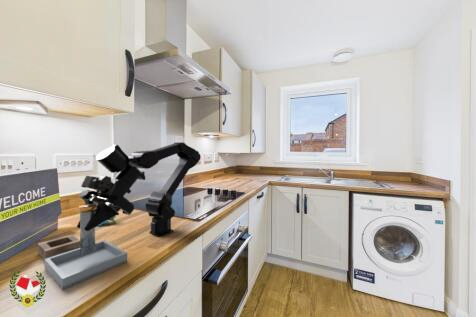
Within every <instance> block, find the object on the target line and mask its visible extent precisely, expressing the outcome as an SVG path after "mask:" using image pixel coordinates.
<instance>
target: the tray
mask: <svg viewBox="0 0 476 317" xmlns="http://www.w3.org/2000/svg"><path fill="white" fill-rule="evenodd" d="M127 262H128V252H127V251H125V250H123V249H121V248H119V247H118V246H116V245H114V244H113V243H110V242H109V241H107V240H106V239H104V240H101V241H97V242H95V251H94V252H92V253H89V254H80V248H78V249H75V250H72V251H69V252H65V253H62V254H59V255H56V256H53V257H50V258H47V259H45V261H44V269H45V271H46V272H47V273H48V275H49V276H50V277H51V279H53V281H54V282H55V283H56V284H57V285H58V287H59V288H60V289H61V290H62V291H65V289H68V288H70V287H72V286H73V287H74V286H75V285H78V284H80V283H82V282H84V281H86V280H89V279H91V278H93V277H95V276H97V275H100V274H102V273H104V272H106V271H109V270H111V269H114V268H116V267H118V266H120V265H123V264H125V263H127Z"/></svg>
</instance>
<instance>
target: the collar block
mask: <svg viewBox="0 0 476 317" xmlns="http://www.w3.org/2000/svg"><path fill="white" fill-rule="evenodd" d="M78 248H80V238H78V237H76V236H75V235H73V234H69V235H65V236H61V237H57V238H54V239H50V240H46V241H43V242H38V243H37V254H38V256H39V257H40V258H41V259H42V260H43V261H44V262H45V259H47V258H50V257H53V256H56V255H59V254H62V253H65V252H69V251H72V250H75V249H78Z"/></svg>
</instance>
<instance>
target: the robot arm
mask: <svg viewBox="0 0 476 317" xmlns="http://www.w3.org/2000/svg"><path fill="white" fill-rule="evenodd" d="M173 155H174V156H175V155H177V157H178V158H179V160H178V165H177V166H176V167H175V169H174V171H173V172H172V173H171V175H170V176H169V178H168V179H167V180H166V182H165V184H164V185H163V186H162V188H161V189H160V190H159V191H155V190H154V191H153V192H151V194H150V196H149V197H148V198H147V199H146V202H145V205H144V206H145V210H146V213H147V214H148V216H149V217H151V222H150V230H149V234H151V235H154V236H156V237H159V238H160V237H162V236H165V235H168V234H170V233H172V232H174V229H172V226H171V225H172V218H174V217H175V214H176V210H175V209H174V208H173V207H172V204H173V195H174V194H175V192H176V190H177V189H178V188H179V186H180V184H181V183H182V182H183V180H184V178H185V177H186V175H187V173H188V172H189V171H190V170H191V169H193V168H194V167H195V166H197V164H198V163H199V162H200V160H201V154H200V152H199V151H198V150H196V149H195V148H193V147H191V146H189V145H188V144H186V143H185V142H179V141H178V142H174V143H172V144H171V143H170V144H168V145H164V146H162V147H159V148H155V149H152V150H141V151H134V152H131V153H130V155H127V154H126V153H125V152H124V151H123V149H122V148H121V147H120V145H119V144H112V145H111V146H110V147H107V148H105V149H104V150H101V151H100V152H99V153H97V155H96V157H95V160H96V161H97V162H98V163H100V164H101V166H103V167H104V168H105V169H107V171H108V172H110V173H111V174H113V173H117V174H116V175H114V177H113V178H112V177H111V176H107V175H101V176H100V177H98V176H91V175H85V178H84V180H83V182H82V183H81V185H80V187H81V188H86V189H84V190H82V191H81V192H80V193H79V194H78V195H77V196H78V198H80V199H81V200H83V201H84V205H86V204H96V209H95V214H94V215H93V217H92V218H91V219H90V221H89V222H88V223H87V225H86V226H85V228H84V230H86V231H89V230H91V229H92V228H94V227H95V228H96V227H99V226H98V225H99V224H101V223H102V224H104V222H105V221H106V220H107V221H109V220H108V219H110V218H112V217H114V216H119V215H120V213H119V212H120V211H121V212H122V214H124V215H127V216H130V215H132V213H133V211H134V210H135V204H134V203H133V202H131V201H130V200H129V199H127V198H126V197H125V195H126V194H128V195H129V194H130V193H131V192H132V190H131V188H132V187H133V186H134V184H135V183H136V182H137V181H138V180H141V181H145V180H146V176H145V175H146V174H145V171H141V170H140V169H143V170H144V169H146V170H147V169H151V168H153V167H154V166H157V164H158V163H159V162H160V161H162V160H164V159H167V158H168V157H171V156H173ZM90 189H92V190H90ZM94 190H95V191H94ZM76 227H77V228H78V229H80V220H79V221H78V224H77V226H76Z"/></svg>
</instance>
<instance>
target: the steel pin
mask: <svg viewBox="0 0 476 317" xmlns="http://www.w3.org/2000/svg"><path fill="white" fill-rule="evenodd" d="M95 209H96V204H81V205H79V206H78V211H79V221H80V228H79V232H80V234H79V236H80V238H79V240H80V254H89V253H92V252H94V251H95V243H96V227H94V228H92V229H91V230H89V231H86V230H84V228H85V226H86V225H87V223H88V222H89V221H90V219H91V218H92V217H93V215H94V214H95Z"/></svg>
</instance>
